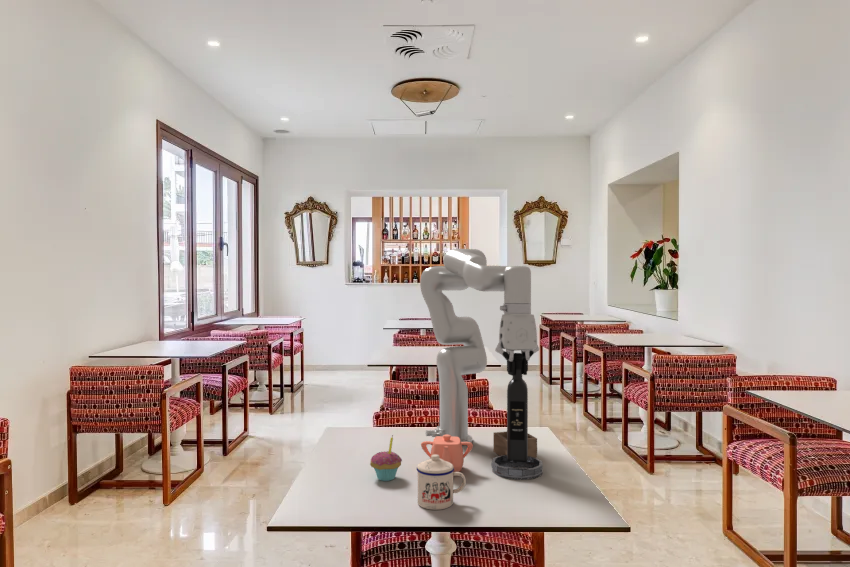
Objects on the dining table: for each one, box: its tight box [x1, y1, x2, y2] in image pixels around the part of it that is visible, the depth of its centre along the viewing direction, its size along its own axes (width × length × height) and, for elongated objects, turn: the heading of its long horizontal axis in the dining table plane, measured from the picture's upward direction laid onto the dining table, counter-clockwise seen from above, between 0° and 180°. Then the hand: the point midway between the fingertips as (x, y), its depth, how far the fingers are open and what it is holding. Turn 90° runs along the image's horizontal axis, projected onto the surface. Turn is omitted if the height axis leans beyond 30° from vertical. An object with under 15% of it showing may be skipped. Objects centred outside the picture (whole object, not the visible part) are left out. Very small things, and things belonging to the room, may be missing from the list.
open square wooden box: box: [493, 431, 538, 458], centre depth 178 cm, size 10×10×6 cm
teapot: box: [420, 434, 474, 472], centre depth 163 cm, size 14×12×10 cm
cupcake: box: [369, 434, 403, 482], centre depth 157 cm, size 9×8×12 cm
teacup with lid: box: [416, 454, 467, 511], centre depth 139 cm, size 12×9×12 cm
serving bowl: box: [491, 455, 543, 480], centre depth 163 cm, size 14×14×3 cm
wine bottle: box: [506, 352, 529, 462], centre depth 162 cm, size 6×6×30 cm
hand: (517, 373), depth 162 cm, fingers closed on wine bottle, 3 cm apart
